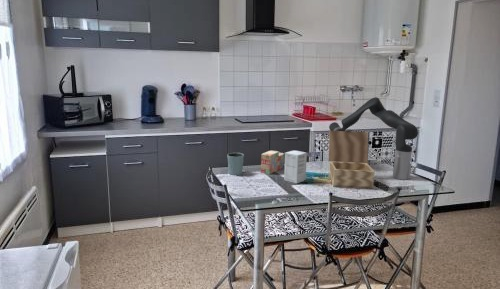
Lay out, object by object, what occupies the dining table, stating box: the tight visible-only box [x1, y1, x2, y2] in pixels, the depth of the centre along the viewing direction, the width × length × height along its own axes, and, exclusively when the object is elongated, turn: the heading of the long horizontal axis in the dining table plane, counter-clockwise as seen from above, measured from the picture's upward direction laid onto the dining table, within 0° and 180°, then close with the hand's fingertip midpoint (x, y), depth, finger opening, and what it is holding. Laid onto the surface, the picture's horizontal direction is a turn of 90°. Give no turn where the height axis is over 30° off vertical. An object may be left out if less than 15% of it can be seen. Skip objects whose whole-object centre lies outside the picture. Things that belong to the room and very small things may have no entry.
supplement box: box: [283, 150, 308, 184], centre depth 221 cm, size 10×9×17 cm
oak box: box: [328, 161, 375, 190], centre depth 220 cm, size 22×18×10 cm
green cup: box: [227, 152, 245, 176], centre depth 231 cm, size 10×10×12 cm
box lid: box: [328, 128, 369, 164], centre depth 229 cm, size 23×20×3 cm
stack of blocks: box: [260, 150, 286, 175], centre depth 242 cm, size 21×6×12 cm, turn 149°
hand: (343, 138), depth 241 cm, fingers closed
